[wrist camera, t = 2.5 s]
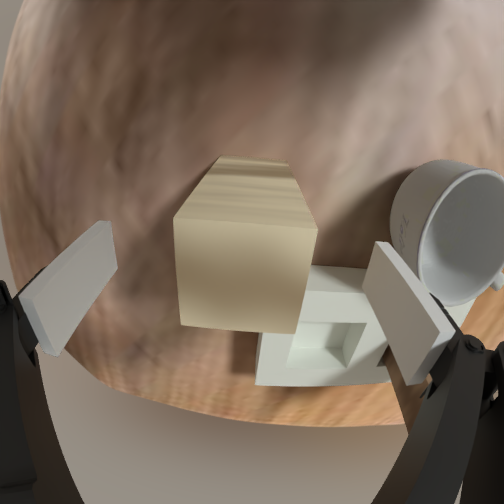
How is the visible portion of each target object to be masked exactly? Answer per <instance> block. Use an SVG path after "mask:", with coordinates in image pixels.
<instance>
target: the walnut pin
mask: <svg viewBox="0 0 504 504" xmlns="http://www.w3.org/2000/svg"><path fill="white" fill-rule="evenodd" d="M382 357H383V360H384V362H385V365H386V368H387V370H388V373H389V376H390V379H391V382H392V384H393V387H394V390H395V393H396V396H397V399H398V402H399V405H400V408H401V411H402V414H403V418H404V421H405V424H406V427H407V431H408V434H409V433H410V431H411V429H412V426H413V424H414V422H415V419H416V417H417V414H418V412H419V409H420V407H421V404H422V401H423V399H424V396H425V395H424V396H423V397H422V398H419V397H420V395H421V394H422V393H423V391H424V390H425V389H426V388H427V386H428V385H429V384H430V382H431V381H432V378H431V375H430V373H429V374H428V375H427V377H426V378H425V379H424V381H423V382H422V383H420V384H414V385H408V386H406V383H405V381H404V378H403V376H402V374H401V371H400V369H399V366H398V364H397V362H396V359H395V357H394V355H393V352H392V350H391V348H390V346H389V344H388V346H387V348H386V350H385V351H384V353H383V355H382Z"/></svg>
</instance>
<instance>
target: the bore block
mask: <svg viewBox="0 0 504 504" xmlns="http://www.w3.org/2000/svg"><path fill="white" fill-rule="evenodd" d="M366 272H367V269H362V268H348V267H334V266H321V265H311V267H310V272H309V276H308V281H307V286H306V290H305V295H304V299H303V303H302V308H301V312H300V316H299V320H298V324H297V329H296V333H295V334H278V333H261V332H259V336H258V344H257V351H256V363H255V385H265V386H345V385H362V384H375V383H386V382H391V379H390V376H389V373H388V370H387V368H386V365H385V362H384V360H383V357H382V355H383V353H384V351H385V350H386V348H387V346H388V344H389V343H388V341H387V339H386V337H385V335H384V332H383V330H382V328H381V326H380V324H379V322H378V320H377V318H376V315H375V313H374V311H373V309H372V307H371V305H370V303H369V301H368V299H367V297H366V295H365V293H364V291H363V289H362V285H363V282H364V279H365V275H366ZM475 299H476V298H475ZM475 299H473V300H471V301H469V302H467V303H465V304H462V305H458V306H453V307H447V306H444V307H445V308H444V309H446V310H447V311H448V313H449V315H450V316H451V317H452V318H453V320H454V321H455V323H456V324H457V326H458V327H459V328H460V326H461V325H462V323H463V321H464V319H465V318H466V316H467V314H468V312H469V310H470V308H471V306H472V305H473V303H474V301H475Z"/></svg>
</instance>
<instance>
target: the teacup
mask: <svg viewBox="0 0 504 504" xmlns="http://www.w3.org/2000/svg"><path fill="white" fill-rule="evenodd" d="M390 234H391V239H392V243H393V246H394V248H395V251H396V252H397V253H398V254H399V256H400V257H401V258H402V259H403V260H404V262H405V263H406V264H407V265H408V267H409V268H410V269H411V270H412V272H413V273H414V274H415V275H416V277H417V278H418V279H419V281H420V282H421V283H422V285H423V286H424V287H425V288H426V290H427V291H428V292H429V293H431V294H433V295H434V296H435V297H436V298H437V299H439V300H440V302H441V303H442V305H443V306H447V307H453V306H458V305H462V304H465V303H467V302H469V301H471V300H473V299H475V298H476V297H477V296H479V295H480V294H481V293H482V292H484V291H485V290H486V289H487V288H488V287H489V286H490V287H492V288H493V289H494V290H495V291H498V290H500V289H501V288H502V286H503V285H504V275H503V273H502V272H501V270H502V269H503V267H504V178H503V177H502V176H501V175H500V174H498V173H497V172H495V171H493V170H489V169H484V168H478V167H475V166H472V165H469V164H466V163H462V162H458V161H453V160H435V161H431V162H428V163H425V164H423V165H421V166H420V167H418V168H417V169H415V170H414V171H413V172H412V173H410V174H409V175H408V177H407V178H406V179H405V180H404V181H403V183H402V184H401V186H400V188H399V189H398V191H397V193H396V196H395V198H394V201H393V204H392V208H391V213H390Z"/></svg>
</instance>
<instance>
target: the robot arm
mask: <svg viewBox="0 0 504 504" xmlns="http://www.w3.org/2000/svg"><path fill="white" fill-rule="evenodd" d="M117 269H118V266H117V260H116V254H115V248H114V241H113V234H112V226H111V221H100V220H98V221H97V222H96V223H95V224H94V225H92V226H91V227H90V228H89V229H88V230H86V231H85V232H84V233H83V234H82V235H81V236H80V237H78V238H77V239H76V240H75V241H74V242H73V243H72V244H71V245H69V246H68V247H67V248H66V249H65V250H64V251H63V252H62V253H61V254H60V255H59V256H58V257H56V258H55V259H54V260H53V261H52V262H51V263H50V264H49V265H48V266H46V267H44V268H43V269H41V270H40V271H39V272H38V273H37V274H36V275H35V276H34V278H32V279H31V280H30V281H29V283H27V284H26V285H25V286H24V287H23V288H22V289H21V290H20V291H19V292H18V294H16V296H15V297H14V298H13V299H12V298H11V296H10V293H9V291H8V288H7V285H6V283H5V282H4V281H3V280H0V504H84V502H83V500H82V498H81V496H80V494H79V492H78V490H77V487H76V485H75V483H74V481H73V479H72V476H71V474H70V471H69V469H68V466H67V464H66V461H65V458H64V456H63V454H62V450H61V447H60V445H59V442H58V439H57V435H56V432H55V429H54V426H53V422H52V419H51V415H50V412H49V408H48V404H47V400H46V395H45V391H44V387H43V382H42V377H41V371H40V365H39V359H38V354H37V352H36V350H35V347H36V345H37V344H38V342H39V344H40V346H41V348H42V350H43V352H44V353H46V354H49V355H52V356H55V357H59V354H60V353H61V351H62V350H63V348H64V347H65V345H66V343H67V342H68V340H69V339H70V337H71V336H72V334H73V332H74V331H75V329H76V328H77V326H78V325H79V323H80V322H81V320H82V319H83V317H84V316H85V314H86V313H87V311H88V310H89V308H90V307H91V305H92V304H93V302H94V301H95V300H96V298H97V297H98V295H99V294H100V292H101V291H102V290H103V288H104V287H105V285H106V284H107V283H108V281H109V280H110V279H111V277H112V276H113V275H114V273H115V272H116V271H117ZM362 289H363V291H364V293H365V295H366V297H367V299H368V301H369V303H370V305H371V307H372V309H373V311H374V313H375V315H376V318H377V320H378V322H379V324H380V326H381V328H382V330H383V332H384V335H385V337H386V339H387V341H388V343H389V346H390V348H391V350H392V352H393V355H394V357H395V359H396V362H397V364H398V366H399V369H400V371H401V374H402V376H403V378H404V381H405V383H406V386H408V385H414V384H420V383H422V382H423V381H424V379H425V378H426V377H427V375H428V374H429V373H430V375H431V378H432V381H431V382H430V384H429V385H428V386H427V388H426V389H425V390H424V391H423V393H422V394H421V395H420V397H419V398H422V397H423V396H424V395H425V396H424V399H423V401H422V404H421V407H420V409H419V412H418V414H417V417H416V419H415V422H414V424H413V426H412V429H411V431H410V433H409V435H408V438H407V440H406V442H405V444H404V446H403V448H402V450H401V452H400V455H399V456H398V458H397V460H396V462H395V464H394V466H393V468H392V470H391V471H390V473H389V475H388V477H387V479H386V481H385V482H384V484H383V486H382V487H381V489H380V490H379V492H378V494H377V495H376V497H375V498H374V500H373V502H372V503H371V504H454V503H455V500H456V498H457V495H458V492H459V489H460V487H461V484H462V481H463V485H462V491H461V498H460V504H504V341H502V342H500V343H499V345H498V346H497V348H496V349H495V351H493V350H487V349H485V347H484V345H483V343H482V342H481V341H480V340H479V339H477V338H476V337H474V336H472V335H464V334H463V333H462V331H461V330H460V328H459V327H458V326H457V324H456V323H455V321H454V320H453V318H452V317H451V316H450V315H449V313H448V311H447V310H446V309H444V308H445V307H444V306H443V305H442V303H441V302H440V300H439V299H437V298H436V297H435V296H434V295H433V294H431V293H429V292H428V291H427V290H426V288H425V287H424V286H423V285H422V283H421V282H420V281H419V279H418V278H417V277H416V275H415V274H414V273H413V272H412V270H411V269H410V268H409V267H408V265H407V264H406V263H405V262H404V260H403V259H402V258H401V257H400V256H399V254H398V253H397V252H396V251H395V250H394V248H393V247H392V246H391V245H390V244H389V243H388V242H380V241H375V244H374V248H373V252H372V255H371V259H370V262H369V265H368V269H367V272H366V275H365V279H364V282H363V285H362ZM497 390H498V397H497V398H496V399H495V400H494V399H493V394H494V393H495V392H496V391H497Z"/></svg>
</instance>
